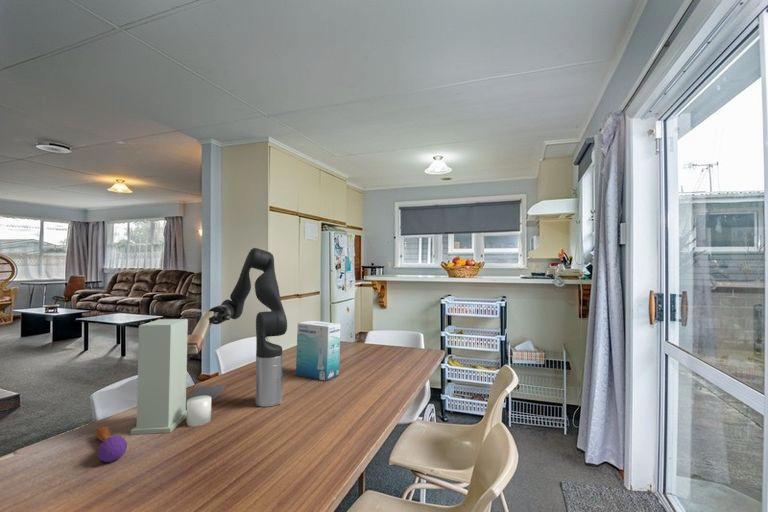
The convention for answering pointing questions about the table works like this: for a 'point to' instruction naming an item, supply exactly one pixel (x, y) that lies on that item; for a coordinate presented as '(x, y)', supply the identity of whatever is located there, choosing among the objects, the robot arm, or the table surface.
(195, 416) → the white short cylinder
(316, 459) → the table surface
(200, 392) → the mat
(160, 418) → the stand
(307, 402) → the table surface
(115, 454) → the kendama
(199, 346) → the catapult arm
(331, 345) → the toothbrush box
